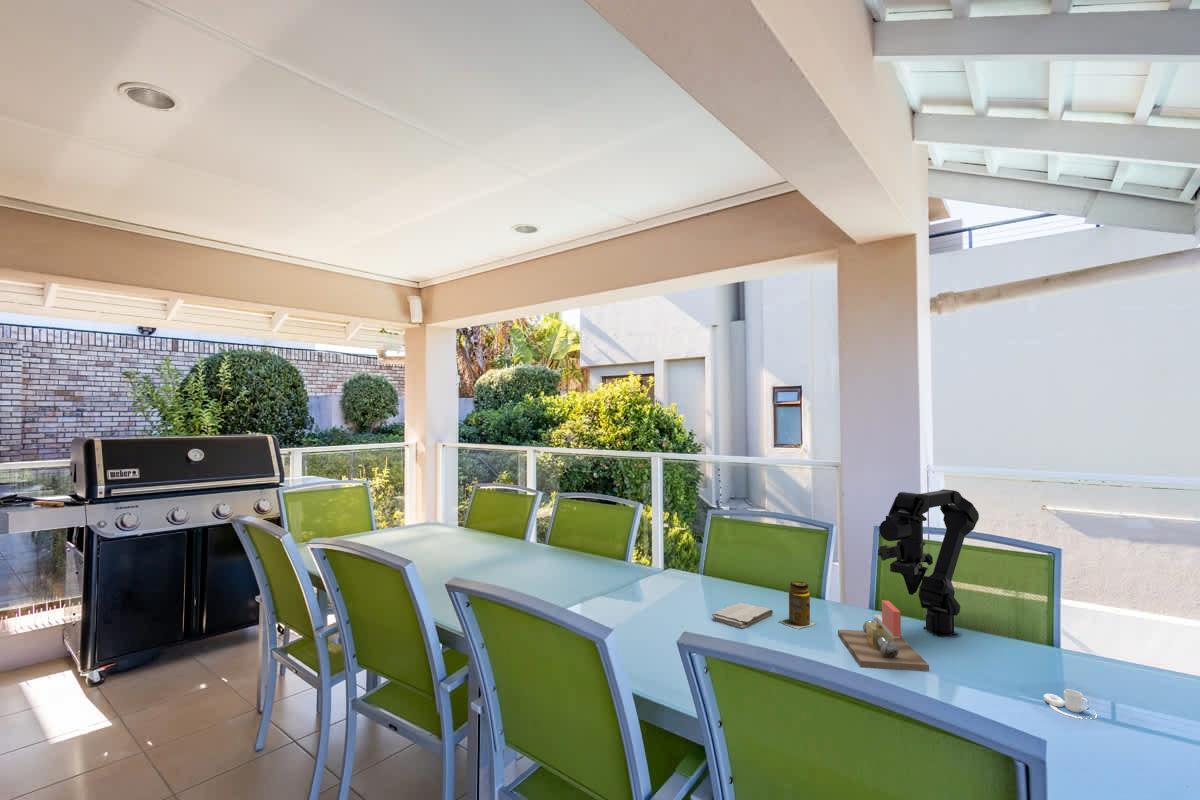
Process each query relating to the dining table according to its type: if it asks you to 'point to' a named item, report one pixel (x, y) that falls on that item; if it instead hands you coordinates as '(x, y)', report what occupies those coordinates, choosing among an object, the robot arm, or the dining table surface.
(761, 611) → the washcloth
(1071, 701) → the teacup and saucer
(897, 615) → the valve lever
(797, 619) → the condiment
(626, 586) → the dining table surface
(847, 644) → the mounting board
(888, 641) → the ball valve
